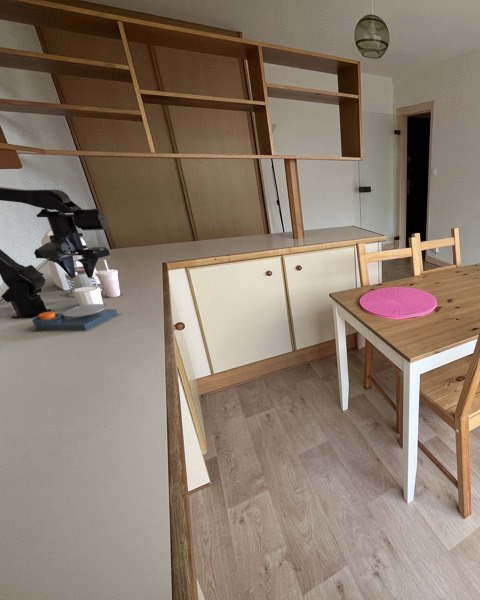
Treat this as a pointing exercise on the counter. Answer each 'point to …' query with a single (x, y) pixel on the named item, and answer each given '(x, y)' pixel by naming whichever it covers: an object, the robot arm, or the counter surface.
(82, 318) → the scale
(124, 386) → the counter surface
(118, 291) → the smoothie
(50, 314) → the tare button
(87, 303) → the white short tapered cylinder
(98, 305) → the weighing pan
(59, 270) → the milk
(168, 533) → the counter surface
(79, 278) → the french press
